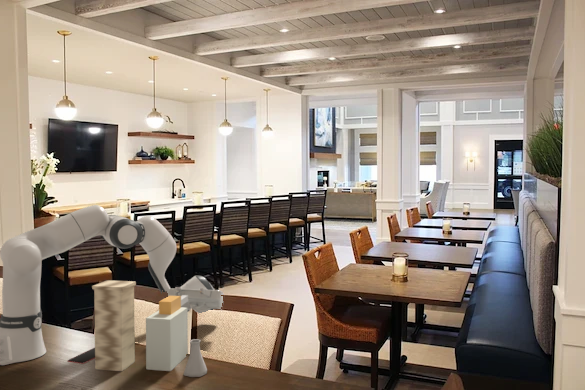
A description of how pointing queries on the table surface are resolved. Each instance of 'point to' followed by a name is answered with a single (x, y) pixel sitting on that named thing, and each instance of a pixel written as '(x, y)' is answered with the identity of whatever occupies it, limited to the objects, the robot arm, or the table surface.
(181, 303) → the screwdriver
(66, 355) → the table surface
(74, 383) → the table surface
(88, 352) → the smartphone
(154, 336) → the pale green block
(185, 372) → the flask
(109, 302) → the high stand
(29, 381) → the table surface
